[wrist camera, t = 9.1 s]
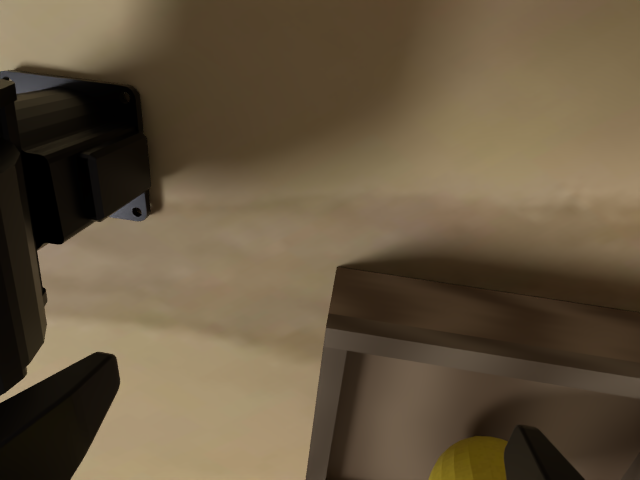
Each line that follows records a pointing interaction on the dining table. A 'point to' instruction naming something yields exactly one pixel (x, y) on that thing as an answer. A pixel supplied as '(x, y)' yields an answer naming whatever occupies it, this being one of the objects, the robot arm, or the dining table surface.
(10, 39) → the dining table surface
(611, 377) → the wooden tray
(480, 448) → the lemon
